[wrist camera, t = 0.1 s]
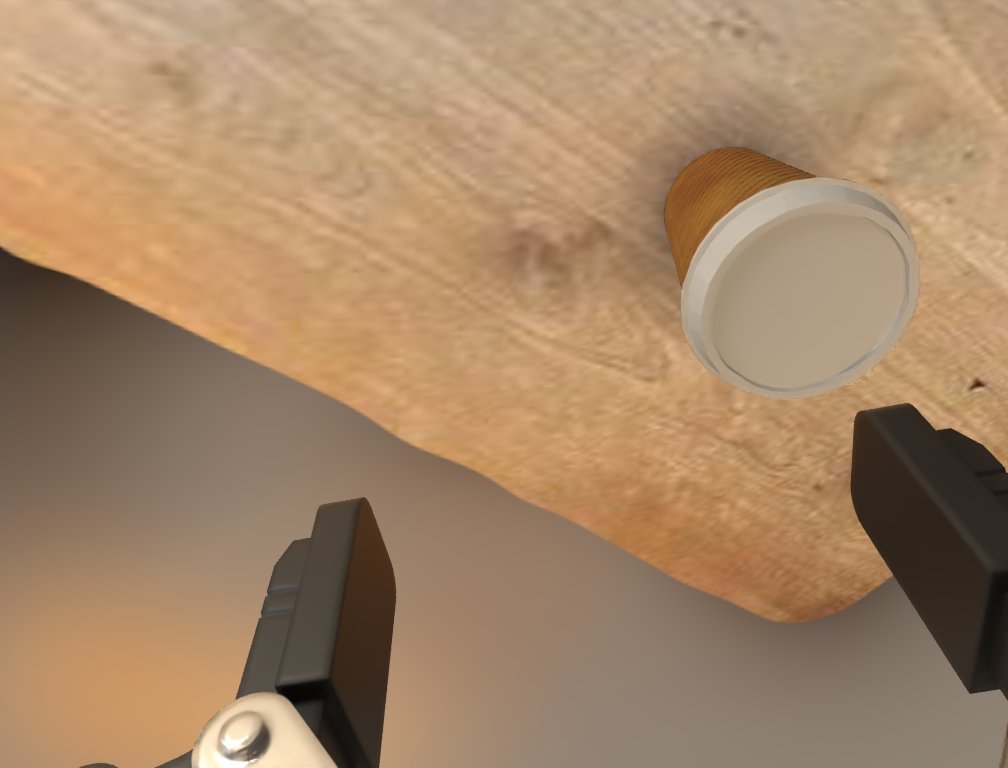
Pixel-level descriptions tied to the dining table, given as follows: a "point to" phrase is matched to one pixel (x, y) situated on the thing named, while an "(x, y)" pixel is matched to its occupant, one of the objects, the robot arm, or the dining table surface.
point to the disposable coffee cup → (787, 273)
